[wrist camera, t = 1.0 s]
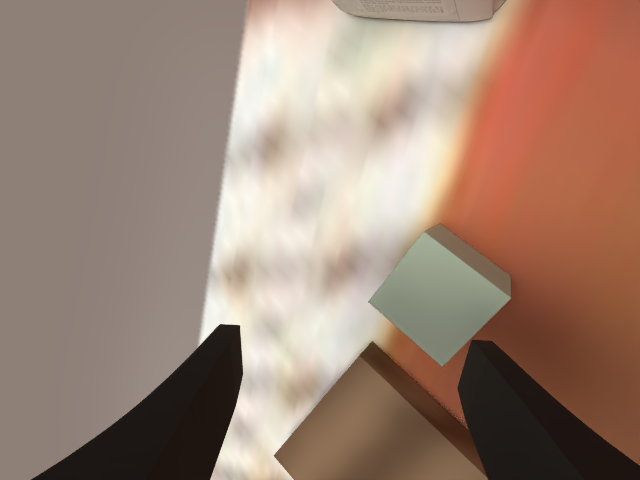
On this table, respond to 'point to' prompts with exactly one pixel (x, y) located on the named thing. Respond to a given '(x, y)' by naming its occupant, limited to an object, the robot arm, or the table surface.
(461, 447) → the walnut riser block
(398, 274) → the sage wooden cube
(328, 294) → the table surface
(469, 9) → the photo printer
